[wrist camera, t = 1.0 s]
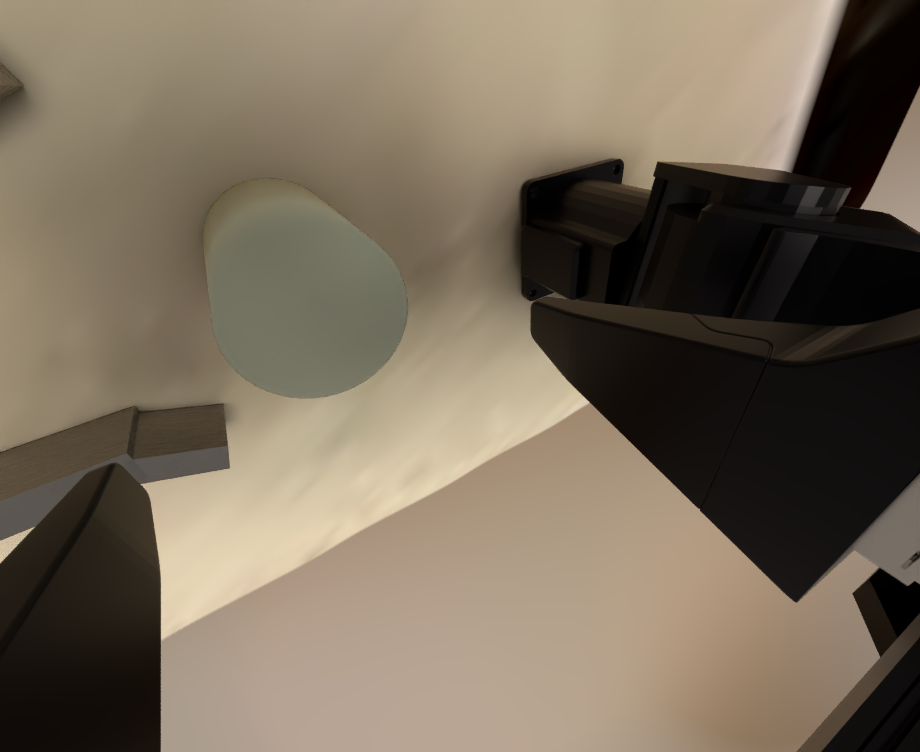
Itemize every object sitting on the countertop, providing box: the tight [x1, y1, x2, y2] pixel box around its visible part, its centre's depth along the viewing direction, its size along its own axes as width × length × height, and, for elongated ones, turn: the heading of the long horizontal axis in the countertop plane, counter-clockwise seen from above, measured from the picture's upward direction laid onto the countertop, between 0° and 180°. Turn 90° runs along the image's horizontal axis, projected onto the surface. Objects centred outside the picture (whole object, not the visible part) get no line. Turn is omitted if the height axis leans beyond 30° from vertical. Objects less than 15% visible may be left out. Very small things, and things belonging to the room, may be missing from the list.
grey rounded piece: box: [203, 178, 408, 398], centre depth 14 cm, size 5×5×7 cm
